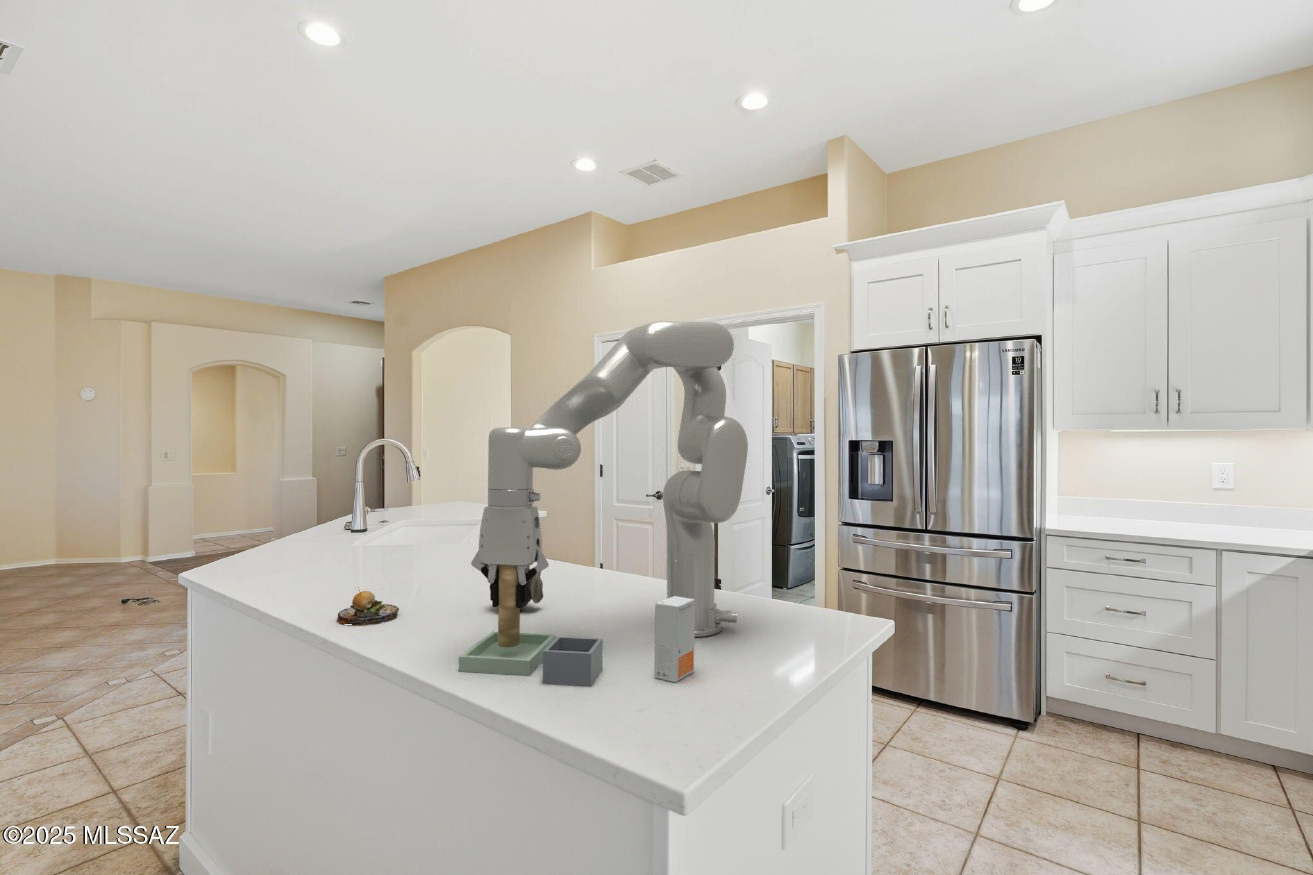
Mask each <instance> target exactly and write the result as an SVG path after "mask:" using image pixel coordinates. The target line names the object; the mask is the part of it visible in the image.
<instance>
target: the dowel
mask: <svg viewBox="0 0 1313 875" xmlns="http://www.w3.org/2000/svg"><path fill="white" fill-rule="evenodd" d="M518 584H519V576H518V569H517V566H510V565H501V566H499V602H498V606H497V607H498V608H497V609H498V610H497V611H498V617H497V618H498V619H497V621H498V623H497V624H498V625H497V626H498V627H497V632H498V646H500V647H515V646H518V645H519V644H520V633H521V632H520V630H521V628H520V627H521V623H520V622H521V620H520V619H521V618H520V617H521V609H520V608H517V607H516V585H518Z"/></svg>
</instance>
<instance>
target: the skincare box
mask: <svg viewBox="0 0 1313 875" xmlns="http://www.w3.org/2000/svg"><path fill="white" fill-rule="evenodd" d="M654 610H655V611H654V612H655V613H654V661H653V662H654V663H653V664H654V670H653V671H654V673H653V674H654V675H653V676H654V678H655V679H659V680H664V681H667V682H672V683H678V682H679V681H680V680H682V679H684V678H685V677H687V676H689V675H690V674H692V673H694V672H695V637H694V635H695V599H690V598H683V597H678V596H673V597H671V598H667V597H666V598H665V599H663V600H661V601H658V602H655V607H654Z"/></svg>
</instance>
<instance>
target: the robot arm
mask: <svg viewBox="0 0 1313 875" xmlns="http://www.w3.org/2000/svg"><path fill="white" fill-rule="evenodd" d="M734 343H735V342H734V338H733V335H732V334H731V332H730V331H729V330H728V328H726V327H725V326H724V325H723V324H720V323H717V322H713V321H672V320H671V321H668V320H665V321H661V320H660V321H652V322H650V323H646V324H643V325H640V326H636V327H634V328H631V329H630V330H628V331H627V332H626V333H624V335H622V336H621V337H620V339H619V340H618V341H617V342H616V343H615V344H614V345H613V346H612V347H611V348H610V350H608V352H607V353H606V354H605V355H604V356H603V357H602V358H601V359H600V361H599V362H598V363H596V365H594V367H593V368H592V369H591V370H590V371H589V372H588V373H587V374H586V375H585V376H584V377H583V378H581V380H580V381H578V382H577V383H576V384H575V385H573V387H571V388H570V389H569V390H568V391H566V393H564V395H562V396H561V397H560V398H559V399H558V400H556V401H555V402H554V403H553V404H552V405H551V406H550V407H549V408H547V410H546V411H545V412H544V413H543V414H542V415H541V416H540V417H539V418H538V419H537V420H536V421H535V423H534V424H532V426H531V427H530V428H526V427H509V426H508V427H495V428H493V429H491V430H490V432H489V434H488V441H487V442H488V444H487V445H488V448H487V450H488V452H487V454H488V460H487V461H488V462H487V473H488V474H487V475H488V476H487V488H488V489H487V506H485V507H483V512H482V515H481V516H482V518H481V522H480V529H479V535H478V536H479V540H478V550H477V552H476V553H475V555H474V556H473V559H472V560H471V562H470V564H471V566H472V567H473V568H475V569H477V570H478V571H480V573H481V574H482V575H483V576H484V577H485V578H486V579H487V582H488V584H489V593H490V594H489V595H490V596H489V597H490V601H491V605H492V608H497V607H498V602H499V566H501V565H510V566H517V569H518V576H519V584H518V585H516V607H517V608H521V607H523V606H524V605H526V602H527V601H528V595H529V581H530V580H531V579H532V578H533V577H534V576H535V575H536V574H537V573H539V572H541V573H542V571H544V570H546V569H547V568H548V567H549V565H550V564H549V562H548V560H547V559H546V557H545V555H544V553H543V542H542V530H541V529H542V528H541V519H540V514H539V508H538V506H534V505H533V504H534V502H536V501H537V502H539V501H540V500H541V493H540V492H536V491H535V489H534V488H533V486H534V485H533V482H534V481H533V479H534V477H533V476H534V468H541V469H547V470H553V471H554V470H555V471H558V470H559V471H560V470H565V469H568V468H570V467H572V466H573V465H574V464H575V463H576V462H577V461H578V459H579V458H580V455H581V453H582V444H581V441H580V439H579V437H578V436H577V435H578V434H579V432H581V431H583V429H585V428H586V427H587V426H588V425H590V424H592V423H594V422H596V421H598V420H600V419H602V418H604V417H606V416H607V417H608V415H610V414H612V413H614V412H615V411H616V410H618V409H619V408H620V407H621V406H622V405H623V404H624V403H625V402H626V400H627V399H629V397H630V396H631V395H632V394H633V393H634V391H635V390H636V389H637V388H638V387H639V386H640V385H641V384H642V383H643V381H644V380H645V379H646V378H647V376H648V375H649V374H650V373H651V372H653V371H654V370H656V369H657V370H658V369H662V368H673V370H674V371H675V372H676V373H677V375H678V376H679V379H680V380H681V382H682V386H683V389H684V398H683V408H682V413H681V419H680V426H679V431H678V438H677V451H678V454H679V456H680V457H681V458H682V459H683V460H684V461H686V462H687V463H690V464H695V465H701V470H691V469H688V470H681V471H678V472H676V473H674V474H672V475H671V476H670V477H669V478H668V479H667V480H666V482H665V484H664V487H663V491H662V503H663V509H664V516H665V523H666V524H665V525H666V542H667V544H666V599H667V598H671V597H673V596H678V597H683V598H690V599H695V635H694V638H699V637H701V638H702V637H708V636H712V635H716V634H718V633H720V632H721V631H722V630H723V629H722V628H723V623H724V622H725V623H733V624H737V622H738V620H737V619H738V614H737V612H732V611H731V610H720V608H717V602H715V551H716V550H715V547H716V546H715V545H716V544H715V533H714V529H713V525H712V524H720V523H724V522H726V521H728V520H730V519H731V518H732V517H733V516H734V515H735V513H736V512H737V510H738V508H739V505H740V501H741V499H742V498H741V497H742V491H743V486H744V480H745V471H746V466H747V460H748V452H749V444H748V443H749V442H748V437H747V434H746V430H745V428H744V427H743V425H742V424H741V423H740V422H739V421H737V419H734V418H732V417H729V416H725V415H726V414H725V413H726V403H727V389H726V384H725V381H724V379H723V376H722V374H721V373H720V371H719V369H718V368H719V367H720V366H721V367H722V366H723V365H724V364H726V363H727V362H729V360H730V358H732V355H733V353H734V349H735V348H734V347H735V344H734ZM534 563H536V565H535V566H533V567H532V568H531V566H532V565H534ZM526 606H527V605H526ZM523 608H524V607H523ZM521 609H522V608H521Z"/></svg>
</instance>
